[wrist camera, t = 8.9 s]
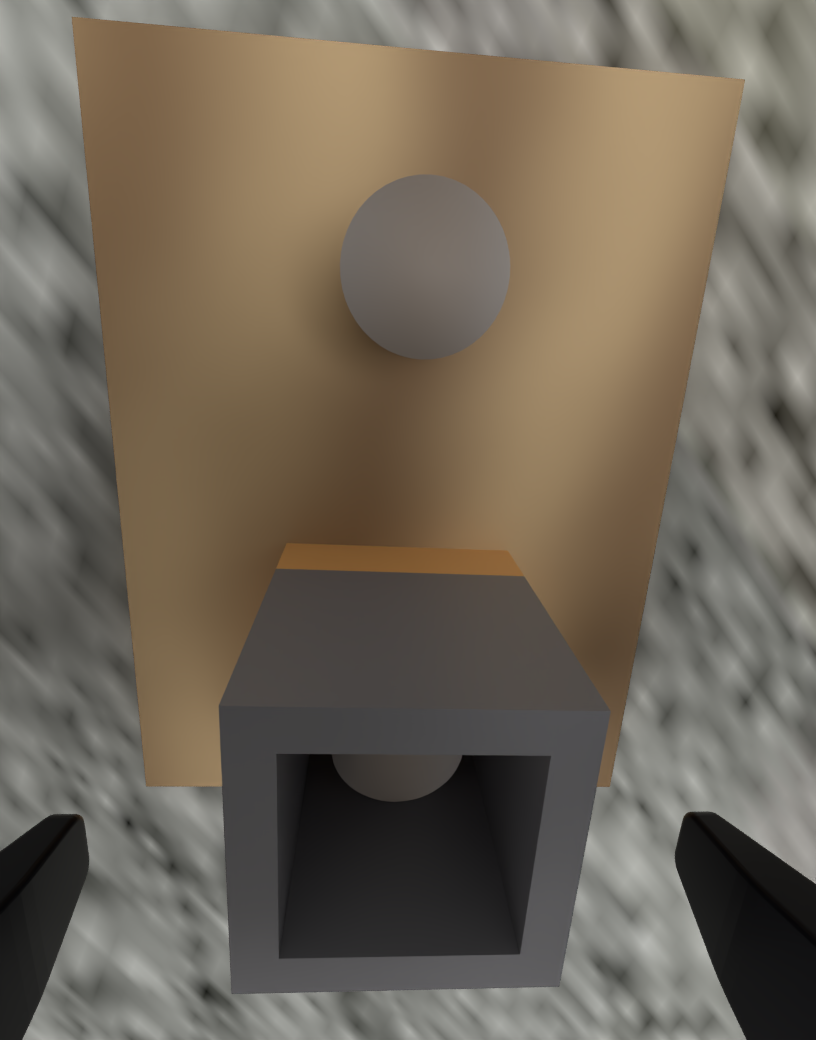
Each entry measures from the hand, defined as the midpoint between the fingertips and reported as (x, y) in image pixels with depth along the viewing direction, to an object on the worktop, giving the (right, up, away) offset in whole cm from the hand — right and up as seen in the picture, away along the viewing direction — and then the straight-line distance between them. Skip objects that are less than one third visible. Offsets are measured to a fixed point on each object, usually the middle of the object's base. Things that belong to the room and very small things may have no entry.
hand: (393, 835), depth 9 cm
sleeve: (0, +2, +5) cm, 5 cm away
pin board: (0, +6, +5) cm, 8 cm away
